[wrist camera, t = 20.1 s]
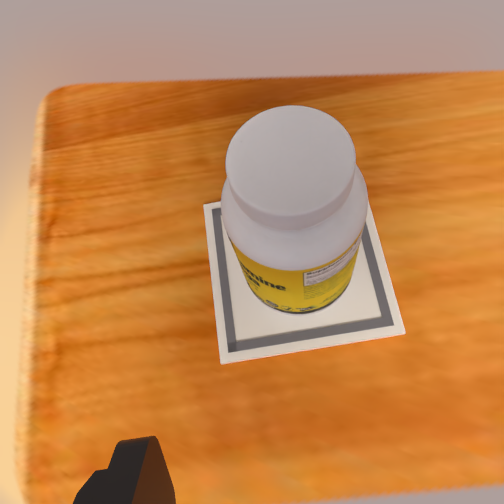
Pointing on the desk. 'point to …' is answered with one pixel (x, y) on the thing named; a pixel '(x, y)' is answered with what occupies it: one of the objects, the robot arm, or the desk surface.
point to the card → (298, 327)
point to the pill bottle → (294, 208)
